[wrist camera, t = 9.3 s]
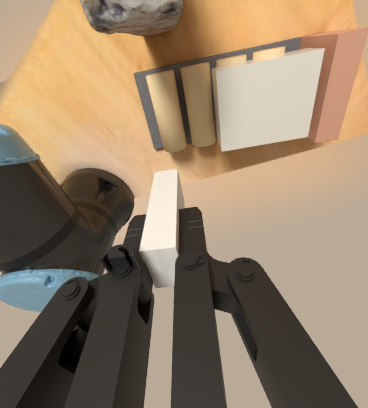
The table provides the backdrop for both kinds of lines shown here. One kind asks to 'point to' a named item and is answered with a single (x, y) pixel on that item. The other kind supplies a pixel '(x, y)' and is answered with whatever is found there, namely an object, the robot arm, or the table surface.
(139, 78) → the roller bed
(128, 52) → the table surface
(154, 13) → the stone block
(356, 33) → the stop block
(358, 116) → the table surface
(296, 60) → the slab
